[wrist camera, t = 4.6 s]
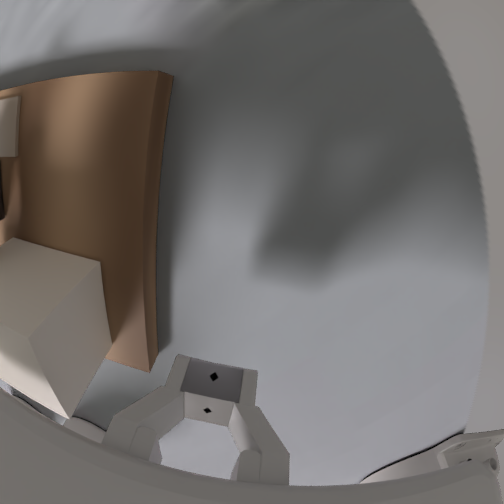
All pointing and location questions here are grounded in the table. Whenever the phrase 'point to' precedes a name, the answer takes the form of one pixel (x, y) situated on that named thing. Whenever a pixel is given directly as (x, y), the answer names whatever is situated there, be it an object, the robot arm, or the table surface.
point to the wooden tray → (92, 186)
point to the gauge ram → (51, 323)
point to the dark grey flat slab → (1, 200)
